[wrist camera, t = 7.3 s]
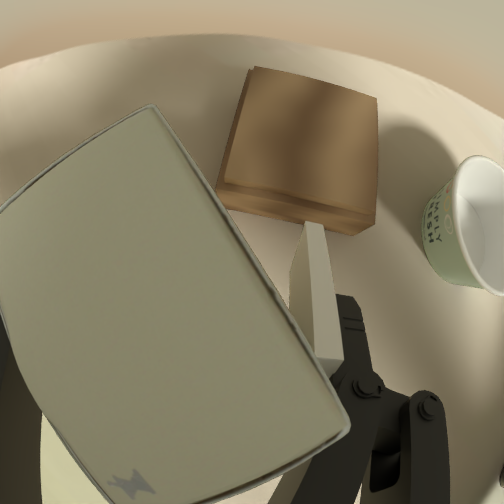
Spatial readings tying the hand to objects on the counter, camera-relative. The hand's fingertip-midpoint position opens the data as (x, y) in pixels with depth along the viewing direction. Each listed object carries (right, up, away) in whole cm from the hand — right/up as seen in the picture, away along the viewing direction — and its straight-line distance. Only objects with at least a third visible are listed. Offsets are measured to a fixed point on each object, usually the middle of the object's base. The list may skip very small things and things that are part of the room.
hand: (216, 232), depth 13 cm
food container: (+21, +1, +12) cm, 24 cm away
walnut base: (+5, +7, +11) cm, 14 cm away
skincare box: (-1, -4, +3) cm, 5 cm away
